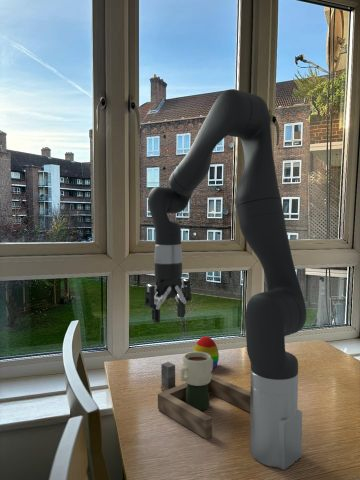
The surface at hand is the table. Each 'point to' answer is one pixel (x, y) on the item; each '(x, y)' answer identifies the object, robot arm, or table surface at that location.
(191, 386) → the character mug
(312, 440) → the table surface
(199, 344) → the decorative egg
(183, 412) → the frame
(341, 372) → the table surface
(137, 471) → the table surface
